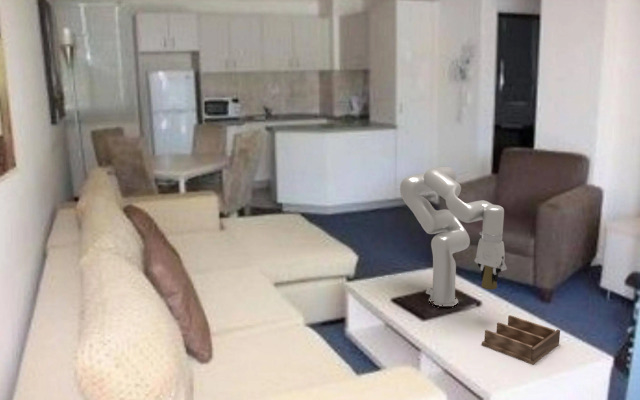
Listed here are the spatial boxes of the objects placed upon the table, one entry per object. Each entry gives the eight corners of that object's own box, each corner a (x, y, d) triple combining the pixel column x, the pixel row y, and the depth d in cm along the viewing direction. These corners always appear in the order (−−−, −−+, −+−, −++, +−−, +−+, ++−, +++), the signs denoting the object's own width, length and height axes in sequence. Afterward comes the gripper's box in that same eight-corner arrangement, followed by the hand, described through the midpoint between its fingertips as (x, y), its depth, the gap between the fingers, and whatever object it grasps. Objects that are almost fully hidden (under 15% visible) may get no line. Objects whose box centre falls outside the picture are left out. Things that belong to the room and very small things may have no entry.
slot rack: (481, 345, 211) (482, 331, 210) (508, 327, 224) (509, 313, 223) (533, 364, 197) (534, 349, 195) (559, 344, 210) (560, 330, 209)
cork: (497, 289, 222) (499, 263, 219) (481, 288, 223) (483, 262, 220) (496, 283, 227) (498, 257, 225) (480, 282, 229) (482, 257, 226)
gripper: (467, 234, 223) (465, 278, 228) (506, 244, 212) (503, 290, 216) (478, 230, 228) (475, 273, 233) (516, 239, 217) (513, 284, 221)
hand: (489, 280), depth 225 cm, fingers closed on cork, 3 cm apart
